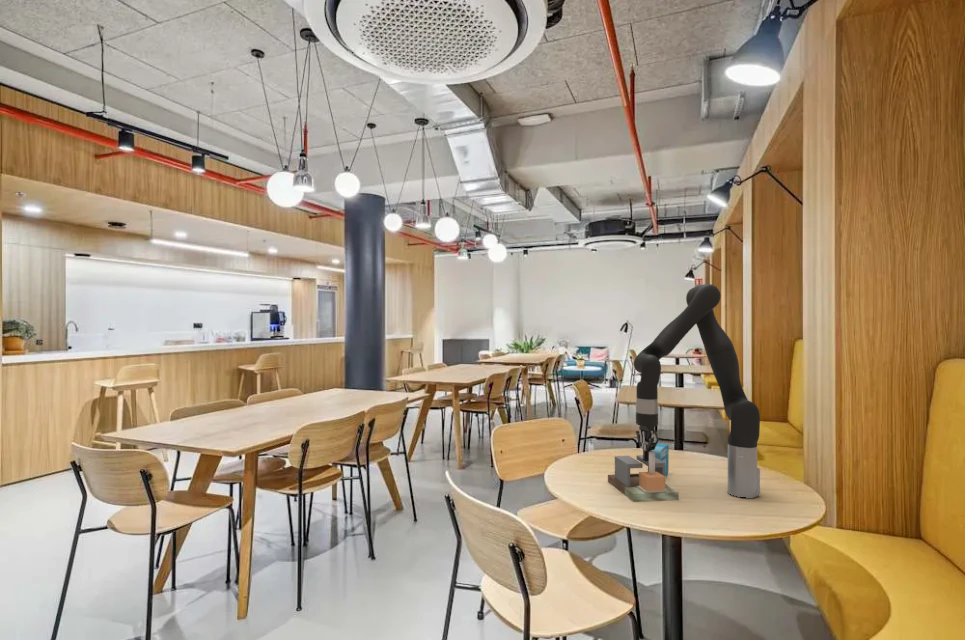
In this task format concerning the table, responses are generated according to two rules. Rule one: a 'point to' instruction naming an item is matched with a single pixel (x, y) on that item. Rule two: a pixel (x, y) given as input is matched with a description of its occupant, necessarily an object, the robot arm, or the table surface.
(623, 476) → the tunnel
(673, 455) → the table surface
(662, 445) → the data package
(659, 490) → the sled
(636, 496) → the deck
